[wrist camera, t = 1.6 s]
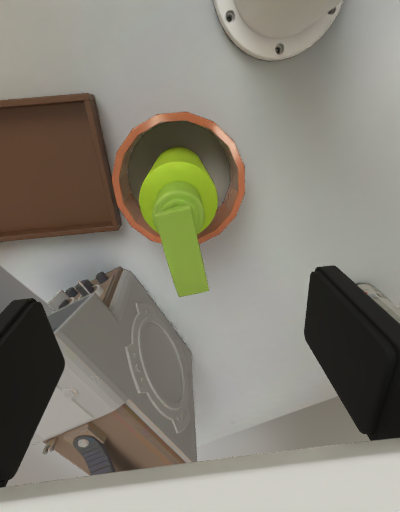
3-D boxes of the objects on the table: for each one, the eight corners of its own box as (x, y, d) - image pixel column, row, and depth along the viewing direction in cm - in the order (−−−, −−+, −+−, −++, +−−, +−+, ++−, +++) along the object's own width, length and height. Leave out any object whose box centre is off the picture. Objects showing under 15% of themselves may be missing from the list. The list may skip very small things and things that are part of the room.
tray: (-88, 109, 28) (-106, 109, 26) (93, 94, 28) (87, 92, 26) (-25, 239, 34) (-37, 245, 32) (121, 224, 34) (118, 230, 33)
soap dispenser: (163, 210, 34) (146, 309, 16) (147, 152, 31) (104, 195, 13) (209, 200, 34) (243, 288, 16) (198, 141, 31) (225, 168, 13)
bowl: (110, 119, 29) (98, 119, 25) (234, 109, 30) (244, 106, 25) (133, 235, 35) (127, 252, 31) (236, 225, 36) (245, 240, 31)
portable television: (110, 238, 35) (-110, 619, 8) (196, 355, 45) (222, 698, 18) (36, 278, 37) (-346, 698, 10) (134, 382, 47) (75, 731, 20)
